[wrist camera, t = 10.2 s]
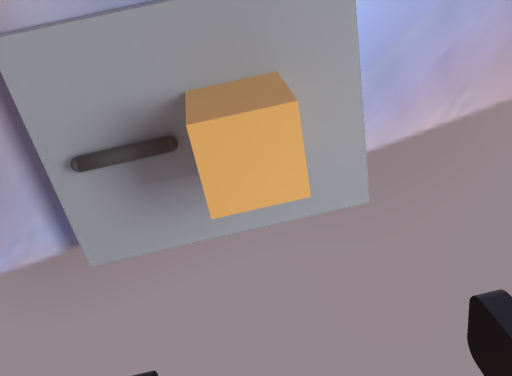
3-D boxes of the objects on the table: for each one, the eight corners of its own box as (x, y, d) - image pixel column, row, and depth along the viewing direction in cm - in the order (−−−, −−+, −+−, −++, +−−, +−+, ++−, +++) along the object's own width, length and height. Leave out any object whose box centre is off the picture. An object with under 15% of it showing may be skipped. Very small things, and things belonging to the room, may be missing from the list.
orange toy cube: (277, 71, 25) (297, 100, 21) (290, 154, 27) (310, 196, 23) (185, 91, 25) (185, 125, 20) (206, 173, 27) (211, 219, 23)
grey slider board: (343, -40, 24) (379, -34, 20) (361, 190, 31) (391, 233, 27) (-4, 34, 24) (-46, 57, 19) (93, 252, 30) (79, 305, 26)
